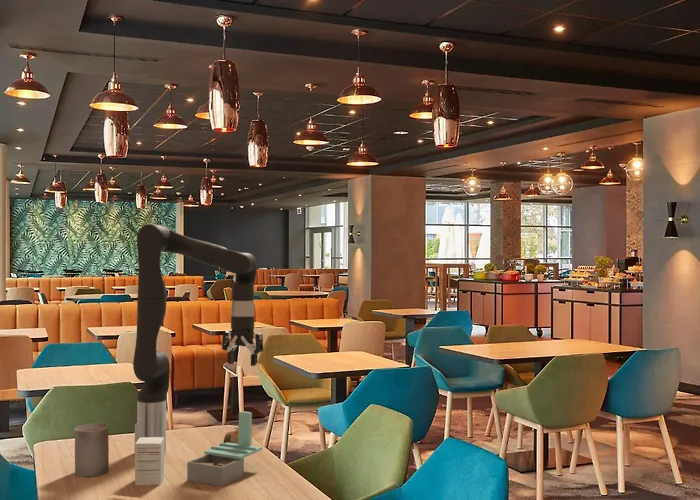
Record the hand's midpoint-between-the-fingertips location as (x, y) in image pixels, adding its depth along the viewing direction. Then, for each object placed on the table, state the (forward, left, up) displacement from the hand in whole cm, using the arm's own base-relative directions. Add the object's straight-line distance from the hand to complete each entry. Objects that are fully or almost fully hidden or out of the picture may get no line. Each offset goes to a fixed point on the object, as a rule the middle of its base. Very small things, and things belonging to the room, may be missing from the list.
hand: (242, 364), depth 247 cm
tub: (+7, -24, -30) cm, 39 cm away
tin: (-4, +2, -30) cm, 31 cm away
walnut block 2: (+9, -22, -29) cm, 38 cm away
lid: (+7, -15, -24) cm, 29 cm away
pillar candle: (-31, -34, -30) cm, 55 cm away
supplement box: (-8, -35, -30) cm, 47 cm away
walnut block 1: (+4, -26, -29) cm, 39 cm away
